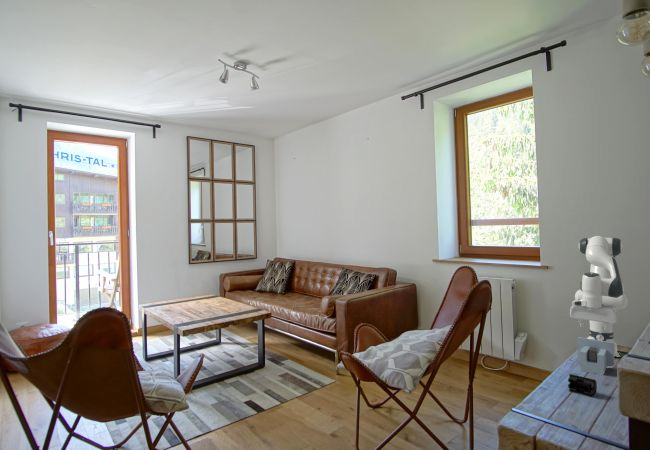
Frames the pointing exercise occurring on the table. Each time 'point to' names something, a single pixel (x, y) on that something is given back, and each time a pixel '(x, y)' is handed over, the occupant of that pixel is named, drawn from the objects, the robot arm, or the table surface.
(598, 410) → the table surface
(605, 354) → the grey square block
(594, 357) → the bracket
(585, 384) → the end cap
